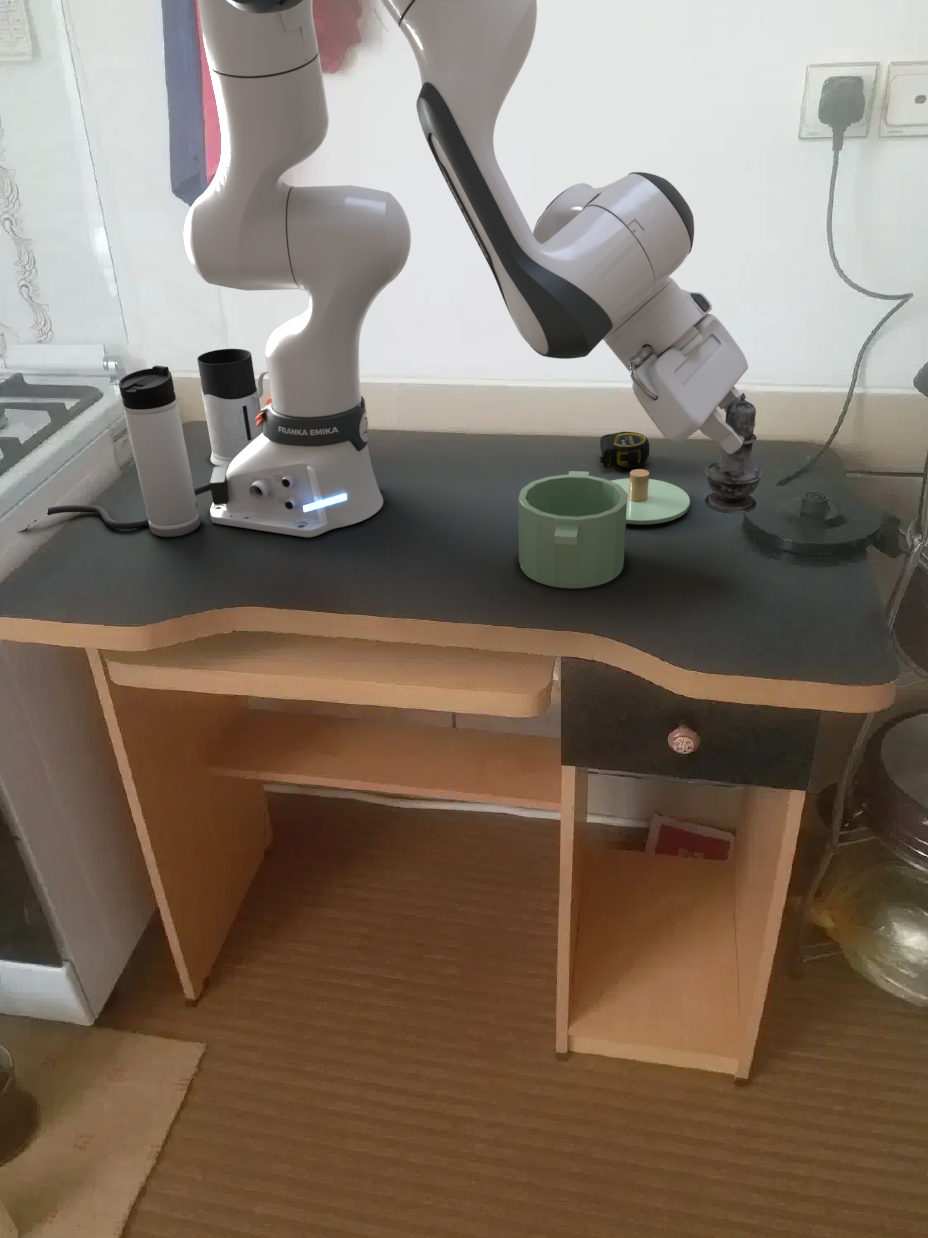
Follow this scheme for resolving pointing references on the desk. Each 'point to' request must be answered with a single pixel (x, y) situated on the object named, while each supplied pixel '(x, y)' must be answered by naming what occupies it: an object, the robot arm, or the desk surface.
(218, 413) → the tall handled mug
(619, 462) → the tape measure
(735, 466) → the salt shaker
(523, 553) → the pot
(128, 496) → the desk surface
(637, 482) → the pot lid
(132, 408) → the travel mug
